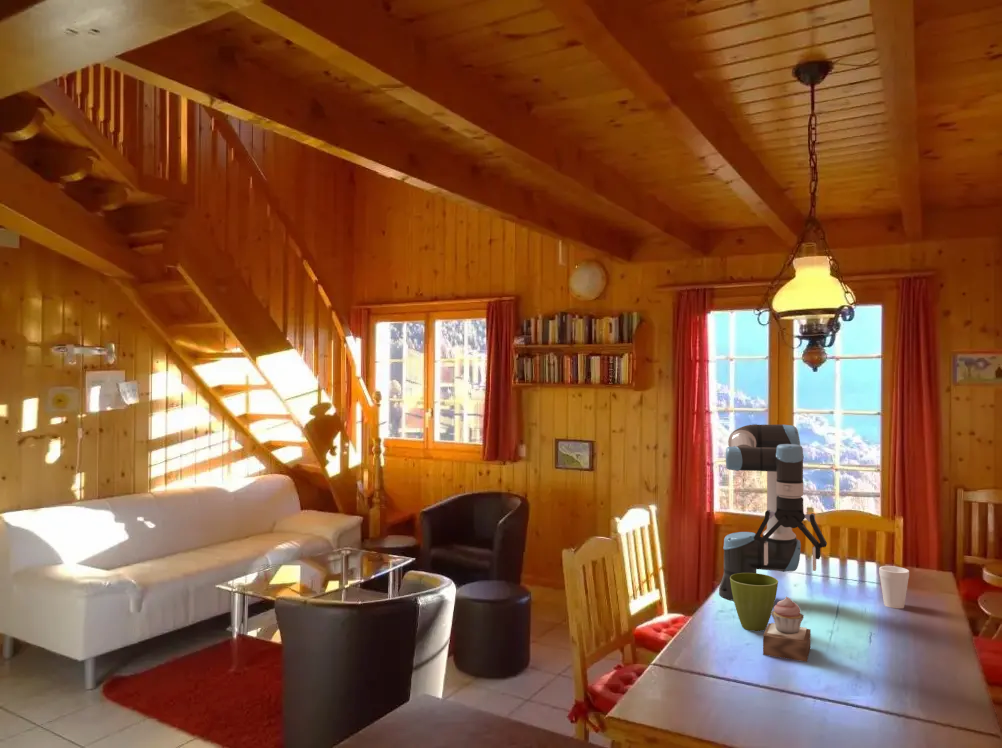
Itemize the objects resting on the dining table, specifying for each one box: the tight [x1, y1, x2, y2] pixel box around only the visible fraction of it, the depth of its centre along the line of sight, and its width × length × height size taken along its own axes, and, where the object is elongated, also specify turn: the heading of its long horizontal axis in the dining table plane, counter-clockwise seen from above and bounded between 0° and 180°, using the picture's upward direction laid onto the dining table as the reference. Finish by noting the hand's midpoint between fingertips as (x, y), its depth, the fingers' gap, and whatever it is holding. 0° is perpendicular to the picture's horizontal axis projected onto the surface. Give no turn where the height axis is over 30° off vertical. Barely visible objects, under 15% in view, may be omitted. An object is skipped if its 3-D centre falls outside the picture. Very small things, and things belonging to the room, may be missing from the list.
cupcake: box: [771, 596, 805, 634], centre depth 219 cm, size 9×9×10 cm
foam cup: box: [878, 565, 910, 609], centre depth 262 cm, size 10×9×13 cm
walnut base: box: [762, 622, 812, 663], centre depth 219 cm, size 12×12×6 cm
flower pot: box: [730, 572, 779, 632], centre depth 240 cm, size 15×15×16 cm
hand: (789, 567), depth 220 cm, fingers open, 13 cm apart
